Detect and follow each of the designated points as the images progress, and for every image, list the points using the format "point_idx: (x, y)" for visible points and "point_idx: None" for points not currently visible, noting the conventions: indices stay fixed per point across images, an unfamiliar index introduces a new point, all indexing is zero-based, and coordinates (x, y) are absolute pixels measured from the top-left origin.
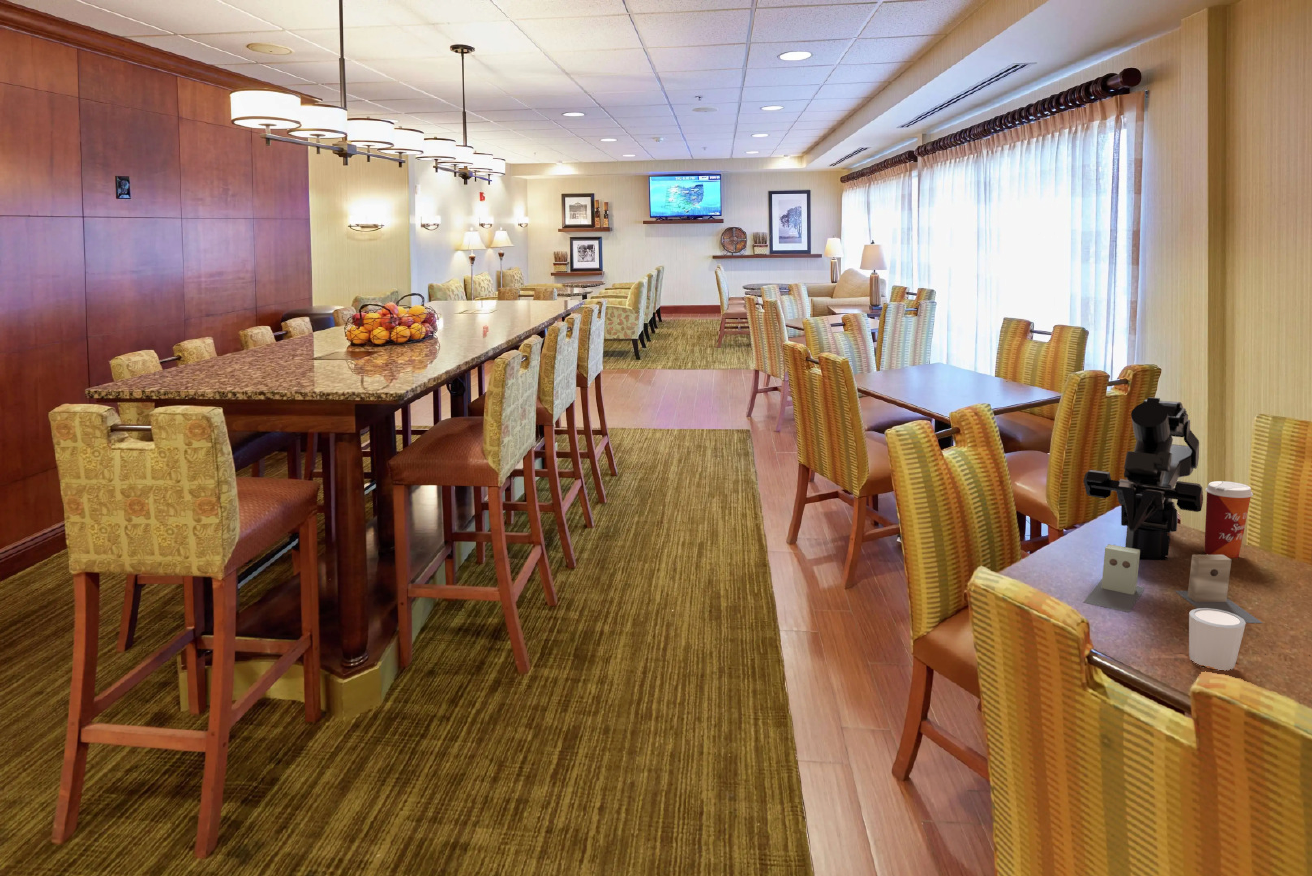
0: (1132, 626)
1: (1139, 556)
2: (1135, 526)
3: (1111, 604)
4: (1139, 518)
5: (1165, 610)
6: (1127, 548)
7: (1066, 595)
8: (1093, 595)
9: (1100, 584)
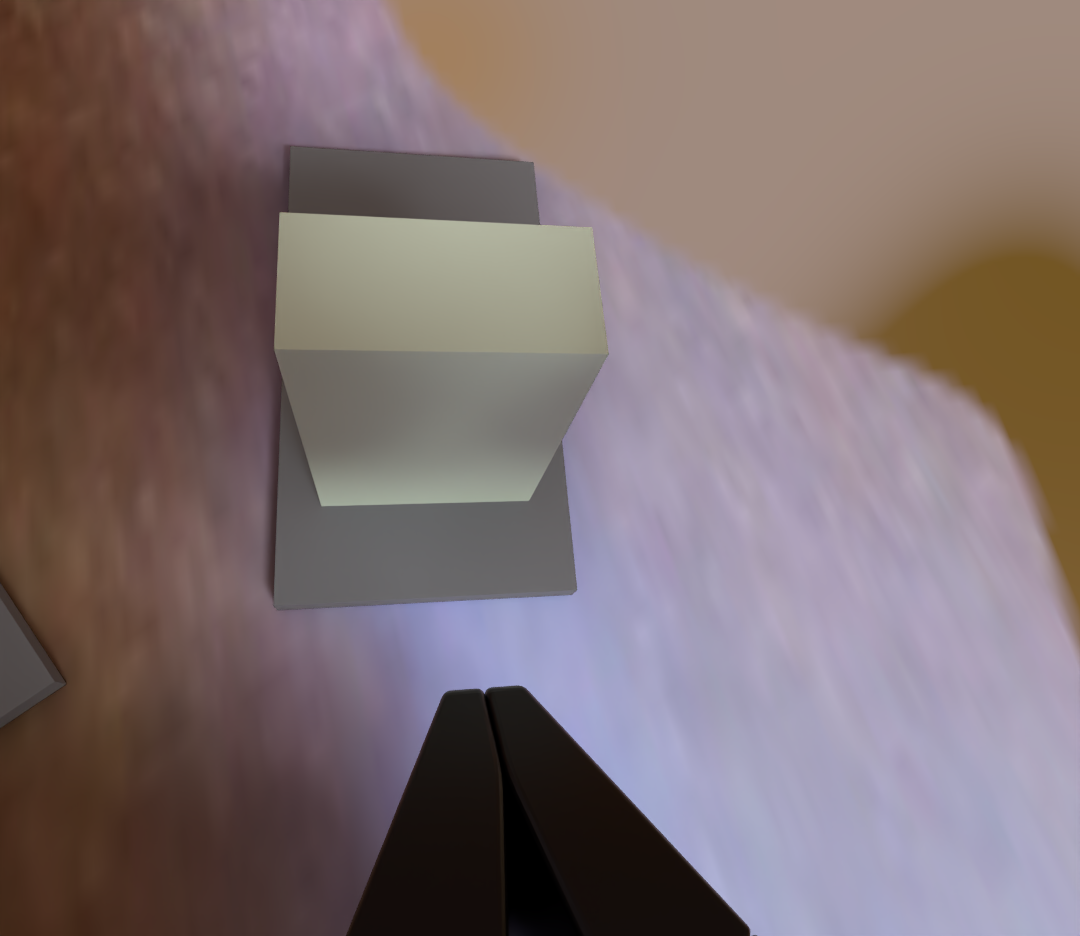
0: (250, 54)
1: (285, 383)
2: (433, 725)
3: (398, 200)
4: (393, 828)
5: (107, 336)
6: (405, 322)
7: (645, 263)
8: None
9: (547, 471)
